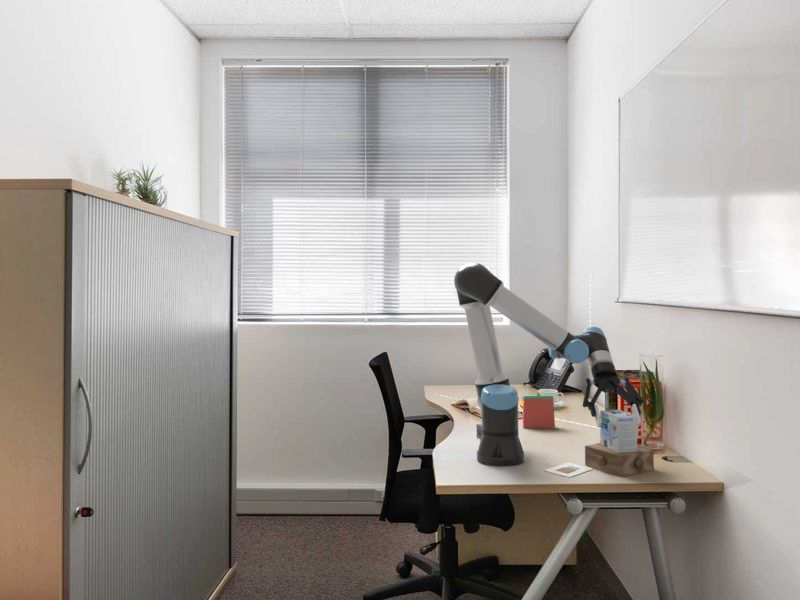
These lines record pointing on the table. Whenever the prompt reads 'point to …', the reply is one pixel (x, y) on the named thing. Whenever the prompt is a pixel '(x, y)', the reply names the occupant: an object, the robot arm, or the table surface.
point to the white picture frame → (568, 470)
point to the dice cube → (479, 430)
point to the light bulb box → (618, 431)
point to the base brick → (619, 460)
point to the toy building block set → (538, 411)
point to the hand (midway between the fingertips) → (619, 424)
